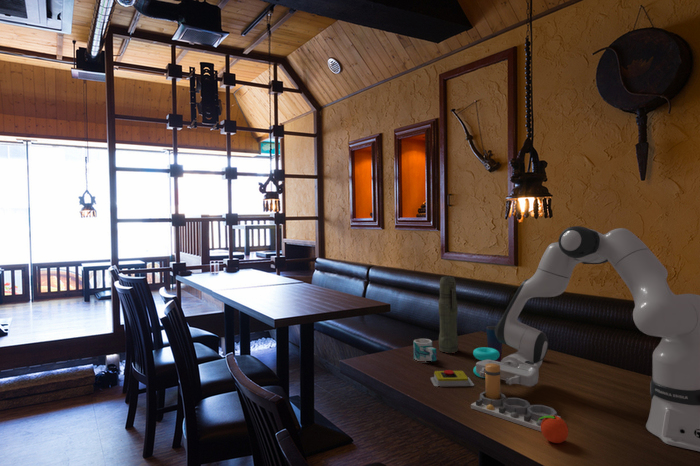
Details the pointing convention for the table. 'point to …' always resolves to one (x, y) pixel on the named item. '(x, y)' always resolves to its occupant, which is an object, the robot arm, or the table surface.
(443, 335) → the thermos
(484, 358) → the donuts
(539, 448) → the table surface
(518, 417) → the grey piece
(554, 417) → the clementine
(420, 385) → the table surface
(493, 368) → the orange-brown tall cylinder
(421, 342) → the mug
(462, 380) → the emergency button
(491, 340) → the cup
